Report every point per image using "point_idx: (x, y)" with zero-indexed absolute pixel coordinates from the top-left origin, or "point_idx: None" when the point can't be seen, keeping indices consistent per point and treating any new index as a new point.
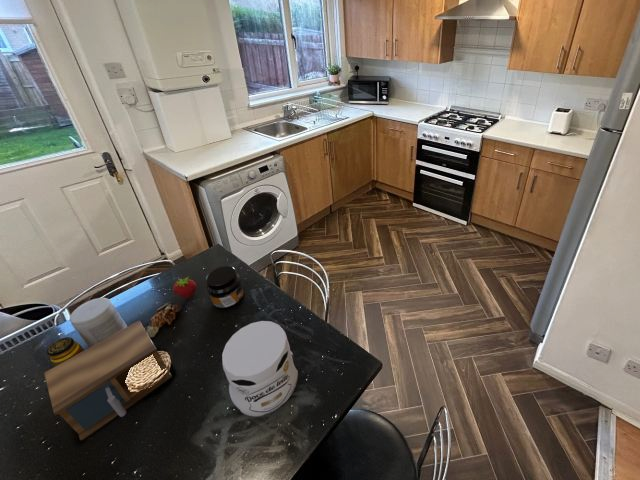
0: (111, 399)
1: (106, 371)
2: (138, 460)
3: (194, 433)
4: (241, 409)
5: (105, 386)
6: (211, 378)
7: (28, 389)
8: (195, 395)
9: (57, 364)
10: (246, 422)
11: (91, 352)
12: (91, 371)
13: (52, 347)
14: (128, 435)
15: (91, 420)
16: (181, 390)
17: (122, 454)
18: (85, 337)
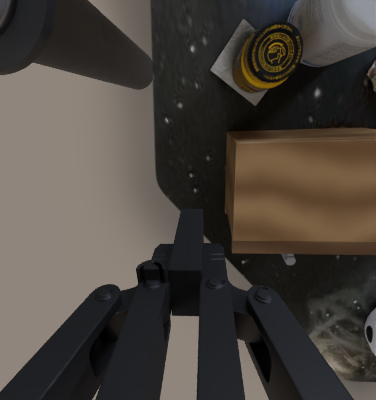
0: (290, 263)
1: (316, 237)
2: (261, 279)
3: (313, 298)
4: (372, 349)
5: None
6: (372, 255)
7: (180, 39)
8: (343, 261)
9: (245, 81)
10: (354, 327)
11: (319, 161)
12: (299, 215)
13: (262, 45)
14: None
15: None
16: None
17: (252, 262)
18: (313, 35)
